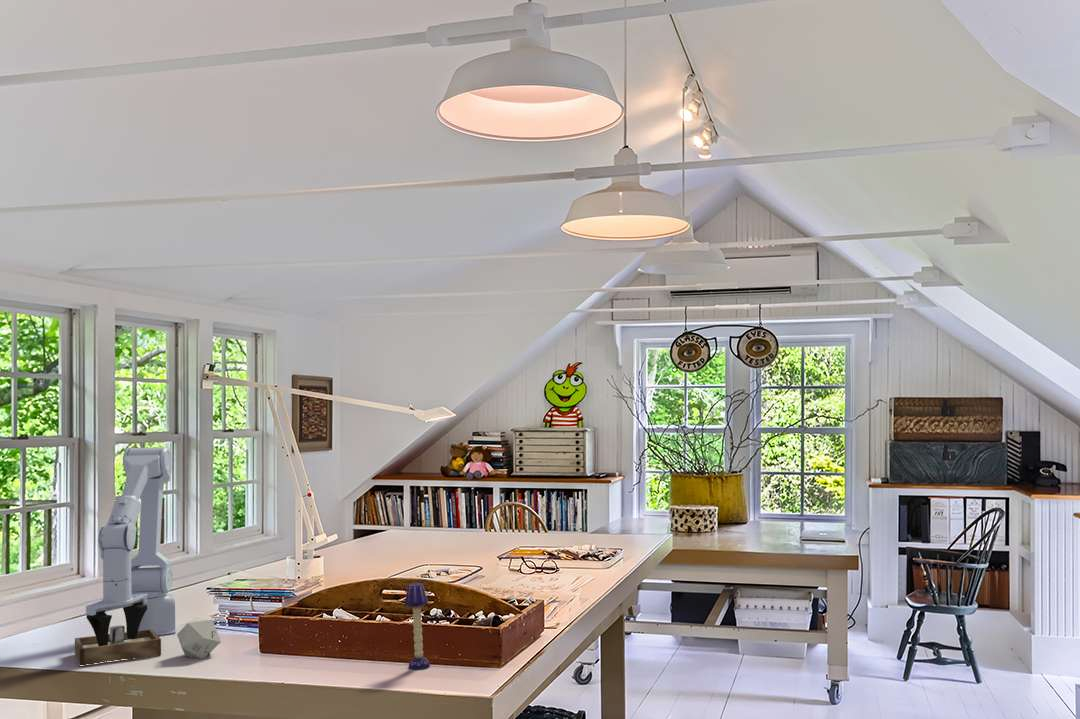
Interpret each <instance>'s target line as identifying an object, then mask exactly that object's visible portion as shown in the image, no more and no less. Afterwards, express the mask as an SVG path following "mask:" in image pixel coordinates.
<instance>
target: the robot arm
mask: <svg viewBox="0 0 1080 719" xmlns="http://www.w3.org/2000/svg"><path fill="white" fill-rule="evenodd" d="M172 458H173V457H172V454H171V451H170V449H169V448H168V447H167V446H162V447H161V446H160V447H159V446H158V447H130V446H129V447H127V448H126V450H124V452H123V456H122V467H123V470H124V473H125V477H126V478H125V480H124V481H125V482H124V487H123V491H122V495H121V496H120V497H118V498H117V499H116V500H114V503H113V506H112V508H111V512H110V515H109V518H108V520H107V523H106V524H105V525H104V526H102V527H101V528H100V529H99V533H98V538H97V544H98V548H99V553H100V556H99V557H100V559H101V560H102V599H101V600H100V601H97V602H95V603H91V604H88V605H86V606H85V615H86V620H87V621H88V623H89V625H90V626H91V628H92V629H93V632H94V636H96V639H97V642H98V646H106V645H108V634H109V633H110V625H111V620H112V618H113V616H112V614H111V615H110V614H107V612H110V611H113V610H114V611H115V610H120V609H122V610H123V612H124V617H125V624H126V626H125V627H126V628H125V630H126V632H127V638H128V639H136V637H137V633H138V631H139V630H147V629H153V630H154V632H155V633H156V634H157V635H158V636H163V635H170V634H177V631H176V600H175V596H174V593H169V592H170V591H171V589H172V586H173V582H174V581H173V579H174V578H173V572H172V571H173V570H172V568H173V567H172V566H173V565H172V562H171V561H170V559H168V558H167V557H166V556H165V555H163V554H162V553H161V552H160V551H161V534H162V513H163V498H164V497H163V494H164V486H165V484H166V483H169V482H170V481H171V477H172V466H173V465H172V463H173V459H172ZM140 497H141V498H140ZM139 500H140V501H139ZM139 516H140V518H139ZM138 518H139V533H138V534H139V536H138V552H137V555H135V556H134V557H133V558H132V550H133V549H134V547H135V544H136V537H137V529H138V528H137V526H136V525H137V521H138ZM144 566H145V567H144ZM146 566H158V567H146Z"/></svg>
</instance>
